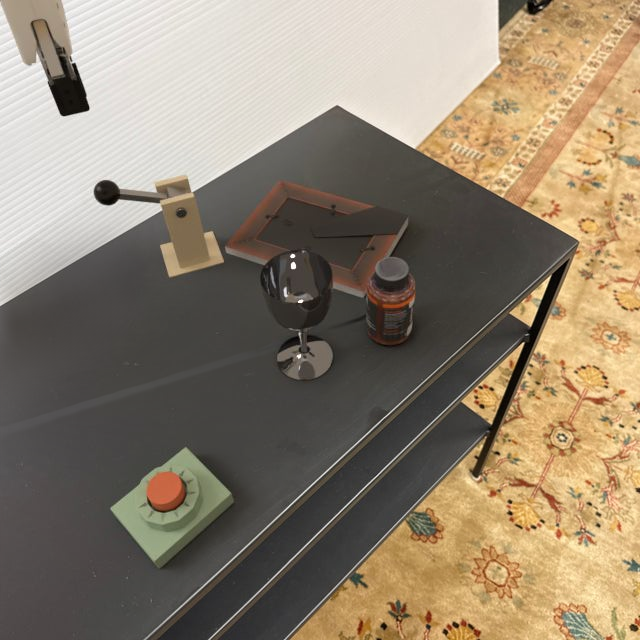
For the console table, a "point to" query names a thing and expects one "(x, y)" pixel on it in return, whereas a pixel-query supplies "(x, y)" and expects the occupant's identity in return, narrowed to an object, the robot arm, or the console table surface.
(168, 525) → the button box
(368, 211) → the picture frame
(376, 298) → the supplement bottle
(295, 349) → the wine glass
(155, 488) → the button
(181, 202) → the toaster bracket
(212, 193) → the console table surface
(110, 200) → the lever
